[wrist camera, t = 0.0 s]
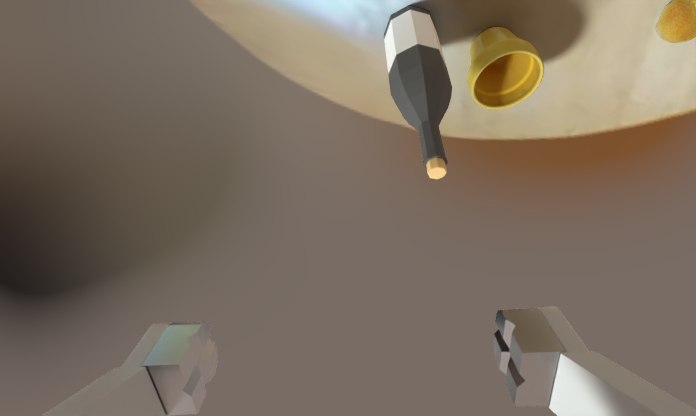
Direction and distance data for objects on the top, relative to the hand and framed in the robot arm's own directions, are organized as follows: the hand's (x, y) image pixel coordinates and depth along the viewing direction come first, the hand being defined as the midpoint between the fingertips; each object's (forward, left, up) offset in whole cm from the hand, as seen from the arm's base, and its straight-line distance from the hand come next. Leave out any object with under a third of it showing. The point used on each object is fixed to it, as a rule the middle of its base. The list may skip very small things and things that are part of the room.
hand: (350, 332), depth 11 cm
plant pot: (+33, +7, -55) cm, 64 cm away
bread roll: (+44, +34, -55) cm, 78 cm away
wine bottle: (+23, -3, -55) cm, 59 cm away
